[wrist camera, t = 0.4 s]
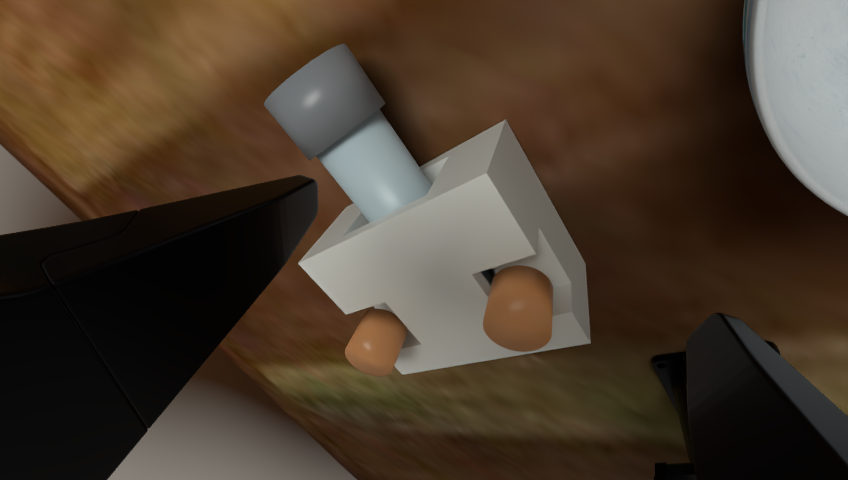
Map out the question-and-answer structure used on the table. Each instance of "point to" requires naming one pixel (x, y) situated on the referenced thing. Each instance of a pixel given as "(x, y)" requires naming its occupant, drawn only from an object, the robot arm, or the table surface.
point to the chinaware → (802, 88)
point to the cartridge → (349, 134)
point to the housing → (456, 255)
